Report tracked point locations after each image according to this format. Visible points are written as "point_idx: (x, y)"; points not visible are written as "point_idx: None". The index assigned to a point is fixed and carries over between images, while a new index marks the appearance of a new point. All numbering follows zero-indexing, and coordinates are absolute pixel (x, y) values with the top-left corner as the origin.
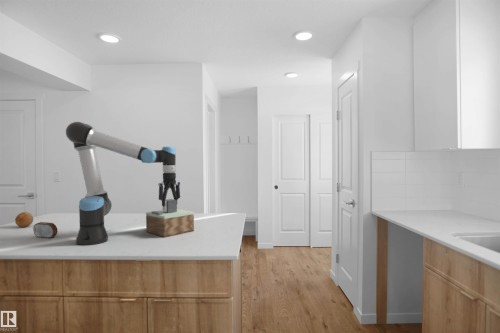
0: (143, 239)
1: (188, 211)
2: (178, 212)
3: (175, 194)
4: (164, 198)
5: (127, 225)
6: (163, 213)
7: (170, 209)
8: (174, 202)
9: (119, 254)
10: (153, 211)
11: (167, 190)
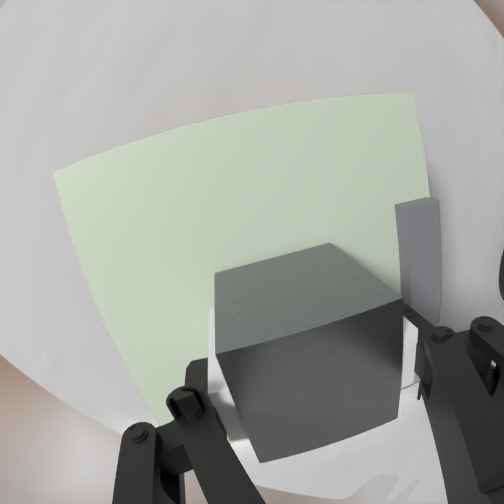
0: (430, 157)
1: (93, 221)
2: (213, 222)
3: (227, 472)
4: (453, 348)
5: (356, 458)
6: (367, 259)
7: (311, 260)
8: (263, 317)
9: (499, 33)
10: (431, 316)
11: (485, 475)
